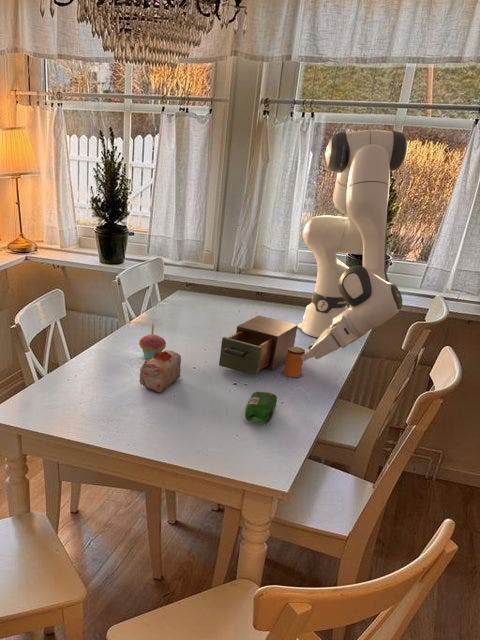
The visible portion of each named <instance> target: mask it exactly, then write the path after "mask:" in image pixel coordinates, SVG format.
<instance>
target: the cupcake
mask: <svg viewBox="0 0 480 640" xmlns="http://www.w3.org/2000/svg"><path fill="white" fill-rule="evenodd" d="M154 328H155V324H154V322H152V323H151V329H150V330H151V333H150V334H147V335H145V336H142V337H141V338H140V339H139V341H138V346H139V347H140V348H141V349H142V352H143V357H144V358H145V360H148V359H149V358H150V359H149V360H151V359H152V358H154V351H155V350H156V351H157V352H158V353H159V352H163V351H164V350H166V346H167V342H166V340H165V339H164V337H162V336H160V335H158V334H154V330H155V329H154Z"/></svg>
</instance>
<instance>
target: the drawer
mask: <svg viewBox="0 0 480 640" xmlns="http://www.w3.org/2000/svg"><path fill="white" fill-rule="evenodd" d="M273 345H274V338H270V337H266V336H263V335H259V334H255V333H251V332H247V331H243V330H242V331H240V332H238V333H234V334H232V335H230V336H228V337H226V336H223V337H221V346H220V352H219V353H220V354H219V360H218V366H219V367H222V368H225V369H226V368H227V369H230V370H232V371H236V372H240V373H243V374H246V375H250V376H253V377H256V376H258V374H259V372H260V371H261V370H263V369H265V368H264V367H266V366H268V365H269V364H270V363H271V357H272V351H273Z"/></svg>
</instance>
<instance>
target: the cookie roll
mask: <svg viewBox="0 0 480 640" xmlns="http://www.w3.org/2000/svg"><path fill="white" fill-rule="evenodd" d="M304 353H306V349H304V348H302V347H299V346H294V347H290V348H288V353H287V359H286V361H285V364H284V369H283V374H284V376H287V377H289V378H299V377H300V376H301V375H302V370H303V364H304V361H303V360H302V359H301V356H302V355H303V354H304Z"/></svg>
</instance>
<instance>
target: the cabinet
mask: <svg viewBox="0 0 480 640" xmlns="http://www.w3.org/2000/svg"><path fill="white" fill-rule="evenodd" d="M298 328H299V327H298V324H295V323H292V322H286V321H284V320H280V319H275V318H271V317H267V316H263V315H256V316H255V317H253V318H251V319H249V320H246V321H244V322H243V323H241V324H238V325H237V326H236V330H235V331H236V333H238V332H240V331H242V330H243V331H247V332H251V333H255V334H259V335H263V336H266V337H270V338H274V345H273V351H272V357H271V363H270V364H269V365H268V366H266V367H264V368H263V369H266V370H269V371H273V370H274V369H276V368H277V367H279V366H280V365H282V364H283V363H286V359H287V353H288V348H290V347H295V343H296V337H297V332H298ZM236 333H235V334H236Z"/></svg>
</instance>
